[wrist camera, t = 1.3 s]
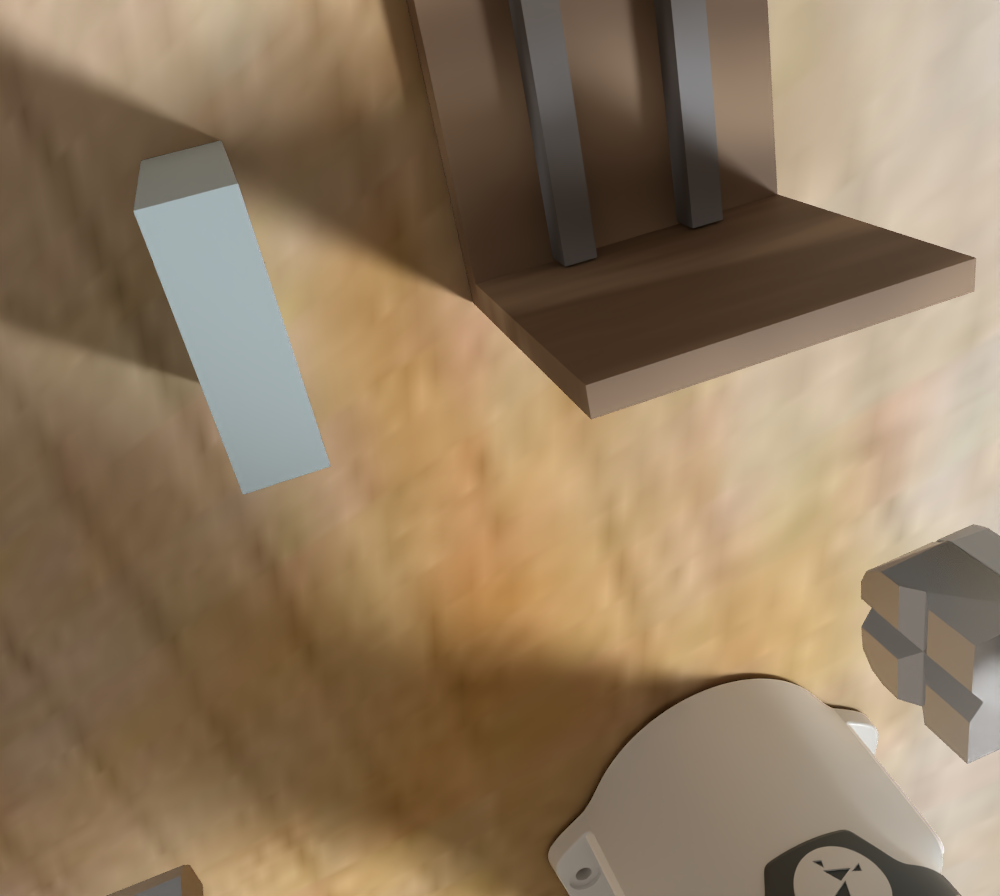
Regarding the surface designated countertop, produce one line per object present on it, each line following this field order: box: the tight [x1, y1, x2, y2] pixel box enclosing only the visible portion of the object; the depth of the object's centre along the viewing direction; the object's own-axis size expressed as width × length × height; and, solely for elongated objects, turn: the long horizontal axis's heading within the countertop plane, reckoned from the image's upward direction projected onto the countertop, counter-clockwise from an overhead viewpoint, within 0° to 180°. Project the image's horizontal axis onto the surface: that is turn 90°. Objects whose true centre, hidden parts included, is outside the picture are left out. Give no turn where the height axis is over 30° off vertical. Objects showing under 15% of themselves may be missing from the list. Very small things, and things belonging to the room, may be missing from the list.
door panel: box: [133, 140, 330, 495], centre depth 28 cm, size 8×2×8 cm, turn 12°
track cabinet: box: [407, 0, 976, 419], centre depth 27 cm, size 17×12×11 cm
